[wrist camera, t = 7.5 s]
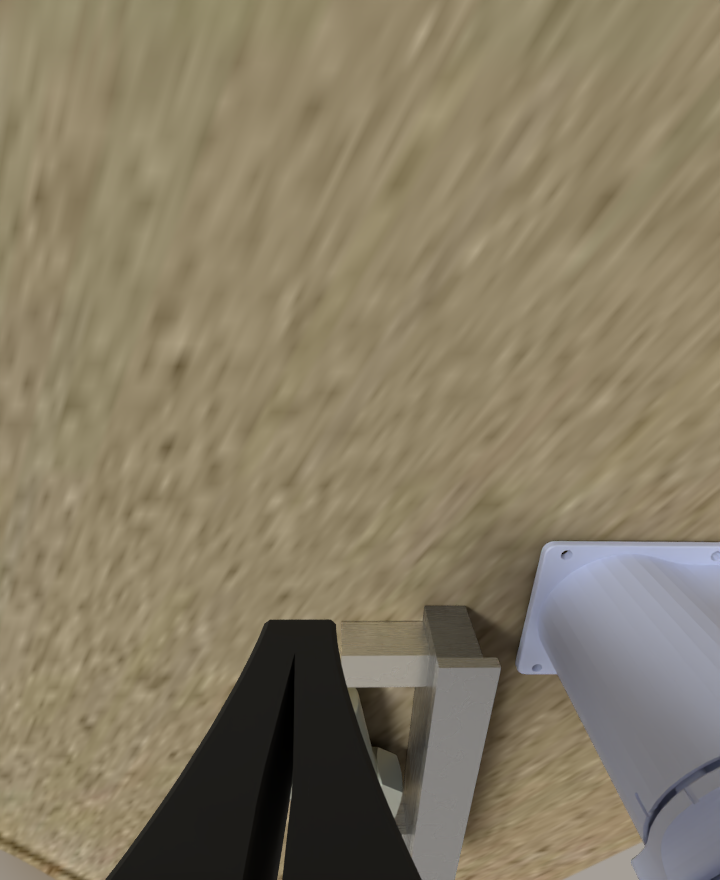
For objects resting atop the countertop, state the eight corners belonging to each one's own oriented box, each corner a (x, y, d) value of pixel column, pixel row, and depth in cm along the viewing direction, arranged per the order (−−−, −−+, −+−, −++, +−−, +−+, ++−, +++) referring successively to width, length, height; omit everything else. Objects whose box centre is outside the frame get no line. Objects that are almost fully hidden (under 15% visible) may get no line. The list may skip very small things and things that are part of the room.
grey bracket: (477, 605, 22) (501, 667, 18) (439, 823, 29) (451, 895, 25) (341, 605, 21) (342, 668, 18) (336, 825, 28) (335, 899, 25)
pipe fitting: (311, 644, 23) (245, 727, 25) (308, 712, 19) (231, 805, 21) (430, 701, 25) (362, 775, 27) (449, 772, 21) (369, 853, 23)
